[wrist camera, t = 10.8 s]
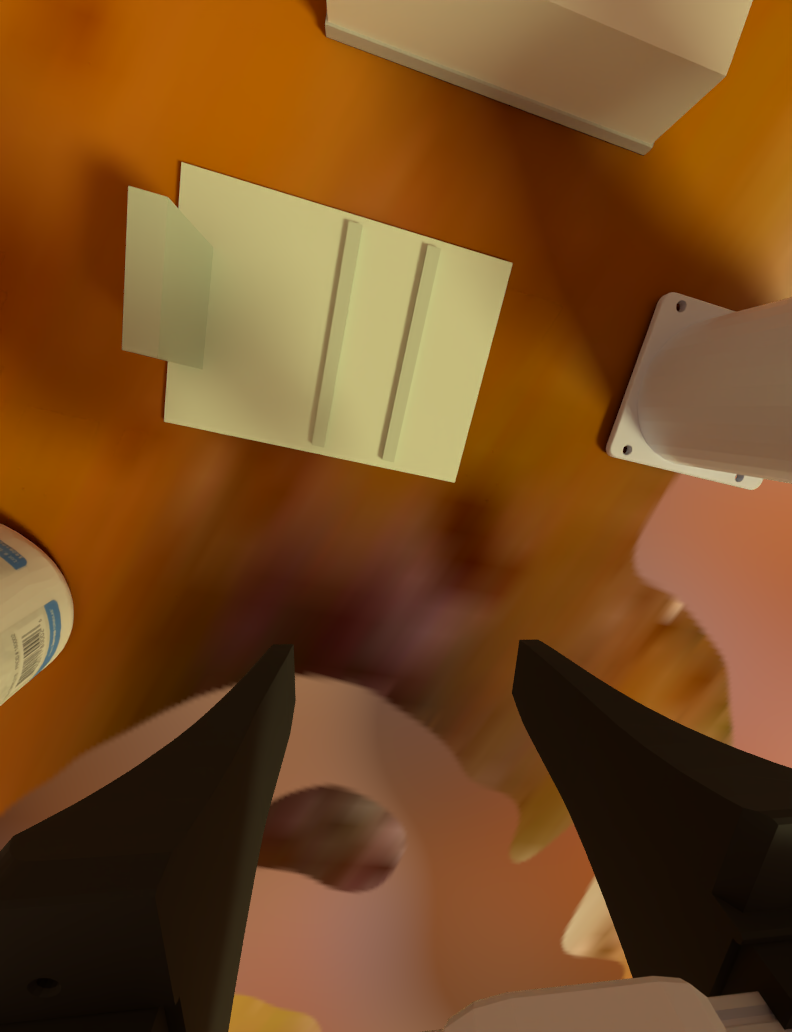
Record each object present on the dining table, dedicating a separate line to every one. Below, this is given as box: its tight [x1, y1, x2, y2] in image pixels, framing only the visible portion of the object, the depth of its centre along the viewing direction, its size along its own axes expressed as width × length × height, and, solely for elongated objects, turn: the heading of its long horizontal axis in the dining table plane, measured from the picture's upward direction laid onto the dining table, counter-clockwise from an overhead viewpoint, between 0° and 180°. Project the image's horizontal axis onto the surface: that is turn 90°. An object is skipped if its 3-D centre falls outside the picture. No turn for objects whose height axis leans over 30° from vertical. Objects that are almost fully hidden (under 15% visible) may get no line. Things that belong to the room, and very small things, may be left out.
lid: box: [122, 162, 513, 483], centre depth 16 cm, size 14×10×5 cm
